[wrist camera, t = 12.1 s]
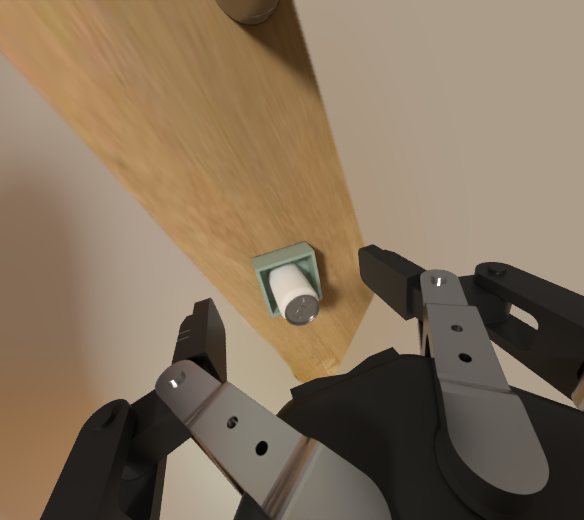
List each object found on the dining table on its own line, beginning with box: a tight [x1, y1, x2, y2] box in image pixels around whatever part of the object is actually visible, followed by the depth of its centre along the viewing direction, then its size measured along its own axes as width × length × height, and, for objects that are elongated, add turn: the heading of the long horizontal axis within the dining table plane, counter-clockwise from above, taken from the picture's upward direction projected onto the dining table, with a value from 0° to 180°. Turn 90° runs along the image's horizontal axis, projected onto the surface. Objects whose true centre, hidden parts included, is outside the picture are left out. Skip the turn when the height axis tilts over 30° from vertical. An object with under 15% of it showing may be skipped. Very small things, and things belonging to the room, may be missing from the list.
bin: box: [251, 241, 323, 318], centre depth 45 cm, size 11×11×5 cm
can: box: [268, 262, 320, 326], centre depth 41 cm, size 6×6×12 cm
